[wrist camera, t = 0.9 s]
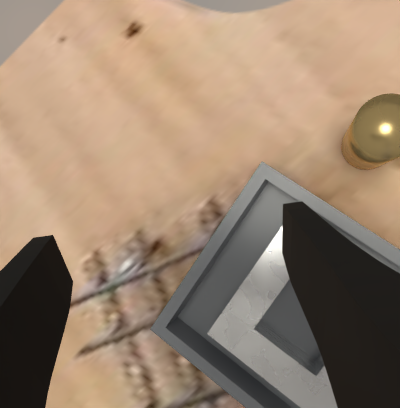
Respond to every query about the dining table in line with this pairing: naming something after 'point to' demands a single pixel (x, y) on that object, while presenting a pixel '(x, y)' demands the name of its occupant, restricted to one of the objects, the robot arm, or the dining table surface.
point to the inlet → (271, 335)
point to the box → (235, 275)
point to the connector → (374, 133)
